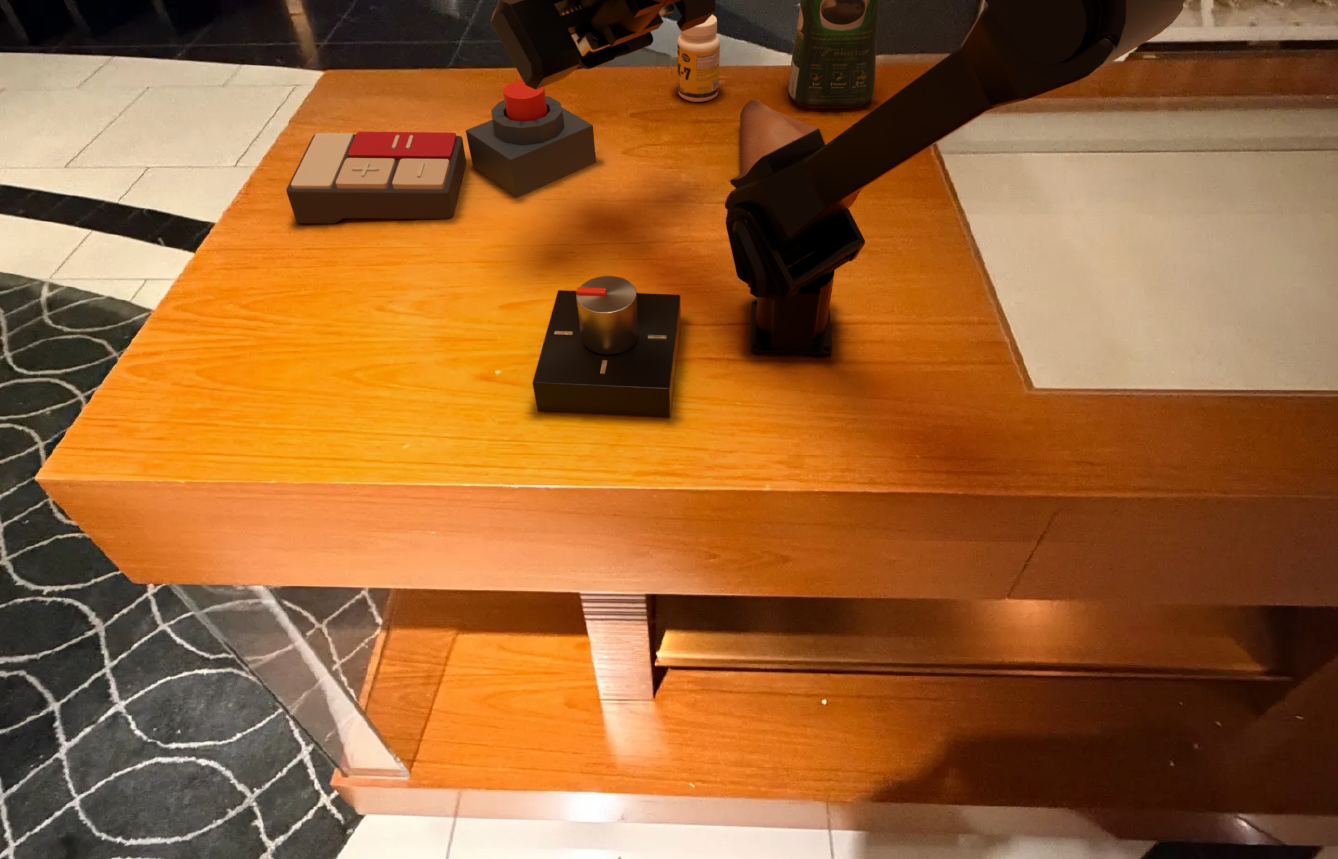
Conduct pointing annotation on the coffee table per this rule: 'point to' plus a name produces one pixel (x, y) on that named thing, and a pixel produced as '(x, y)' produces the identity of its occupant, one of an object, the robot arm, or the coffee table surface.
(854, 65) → the coffee jar
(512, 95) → the button
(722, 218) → the coffee table surface
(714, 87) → the supplement bottle
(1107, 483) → the coffee table surface
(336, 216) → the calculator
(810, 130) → the sunglasses case
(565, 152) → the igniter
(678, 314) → the panel
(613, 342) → the stove knob
